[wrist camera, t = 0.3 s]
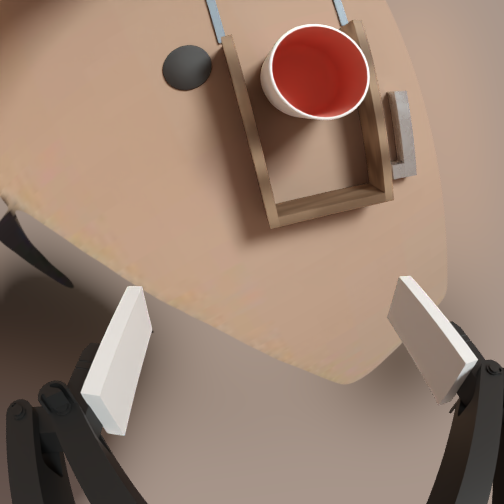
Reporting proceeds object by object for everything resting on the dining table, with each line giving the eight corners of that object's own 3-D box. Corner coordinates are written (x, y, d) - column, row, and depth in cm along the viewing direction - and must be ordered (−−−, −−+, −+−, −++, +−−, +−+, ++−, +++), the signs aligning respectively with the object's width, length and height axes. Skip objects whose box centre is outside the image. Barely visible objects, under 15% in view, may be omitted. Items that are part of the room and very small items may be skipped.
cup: (336, 47, 30) (367, 31, 21) (337, 118, 35) (370, 123, 26) (257, 43, 30) (266, 20, 21) (260, 117, 34) (270, 119, 25)
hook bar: (374, 92, 33) (381, 92, 31) (398, 91, 33) (406, 90, 31) (387, 176, 38) (393, 179, 37) (409, 171, 38) (416, 174, 37)
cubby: (222, 46, 30) (220, 37, 25) (347, 28, 29) (361, 19, 24) (266, 215, 40) (270, 229, 36) (377, 189, 39) (393, 200, 35)
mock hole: (158, 54, 30) (158, 54, 29) (205, 40, 29) (204, 39, 29) (169, 96, 32) (169, 95, 32) (216, 81, 32) (216, 81, 32)
